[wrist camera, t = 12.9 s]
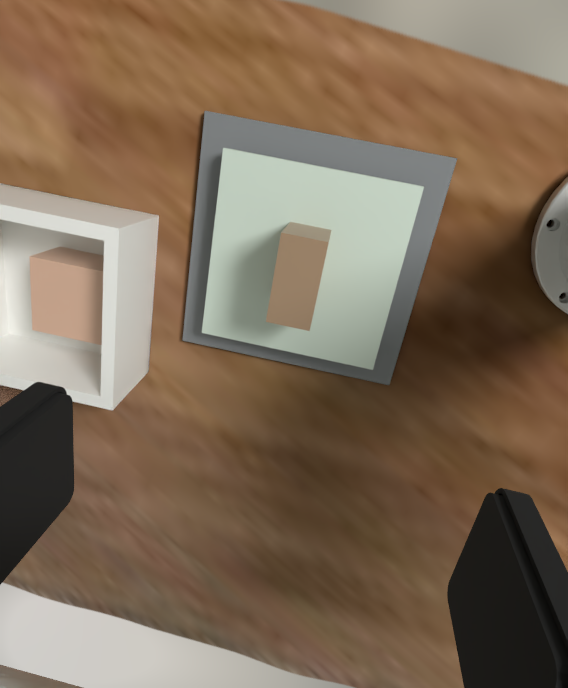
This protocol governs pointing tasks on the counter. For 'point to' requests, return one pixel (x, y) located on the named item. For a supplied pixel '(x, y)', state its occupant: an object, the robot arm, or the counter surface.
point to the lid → (306, 256)
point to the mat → (330, 154)
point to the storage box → (75, 294)
